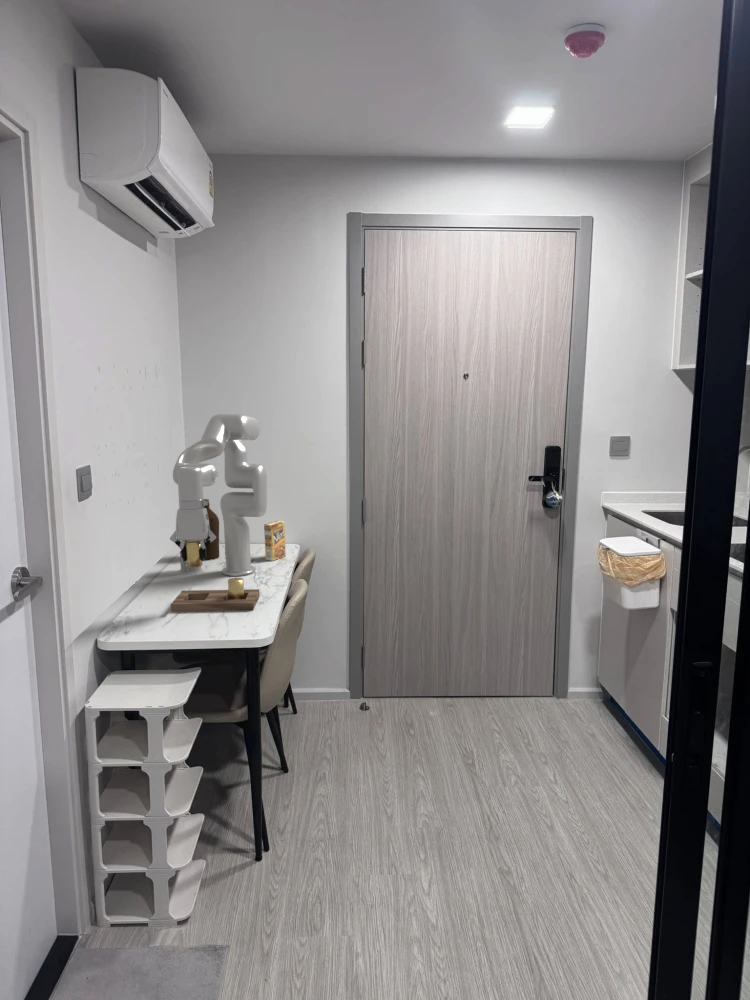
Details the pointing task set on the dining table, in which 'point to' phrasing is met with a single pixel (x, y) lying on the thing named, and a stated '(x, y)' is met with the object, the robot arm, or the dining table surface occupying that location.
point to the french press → (188, 568)
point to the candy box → (274, 540)
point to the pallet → (213, 601)
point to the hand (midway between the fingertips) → (194, 559)
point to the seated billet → (236, 588)
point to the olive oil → (213, 547)
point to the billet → (193, 553)
